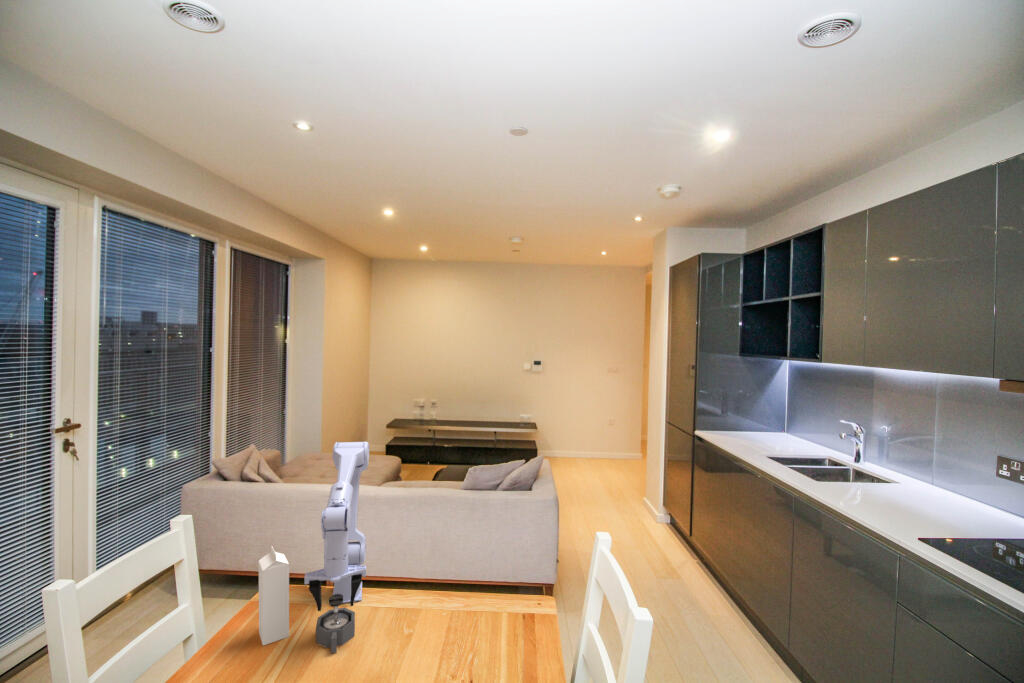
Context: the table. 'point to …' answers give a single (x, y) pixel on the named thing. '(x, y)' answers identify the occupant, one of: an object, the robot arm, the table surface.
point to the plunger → (335, 614)
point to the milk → (273, 597)
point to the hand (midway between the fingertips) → (336, 606)
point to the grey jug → (335, 630)
